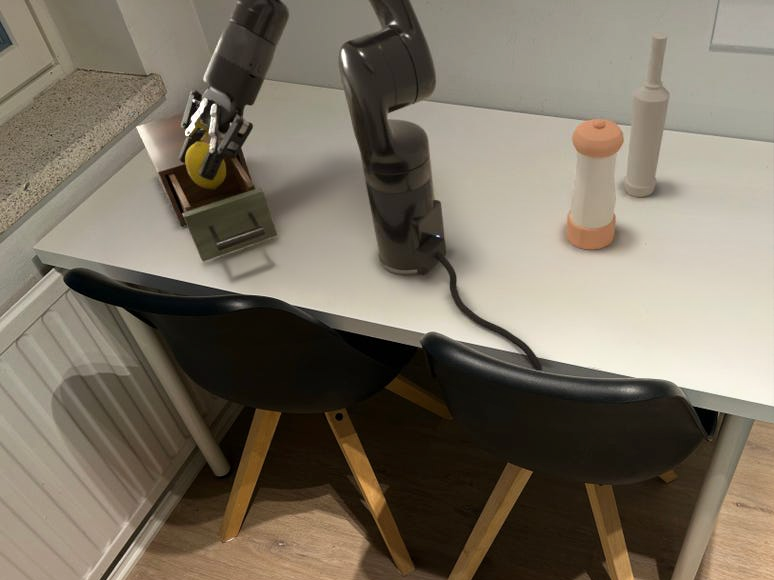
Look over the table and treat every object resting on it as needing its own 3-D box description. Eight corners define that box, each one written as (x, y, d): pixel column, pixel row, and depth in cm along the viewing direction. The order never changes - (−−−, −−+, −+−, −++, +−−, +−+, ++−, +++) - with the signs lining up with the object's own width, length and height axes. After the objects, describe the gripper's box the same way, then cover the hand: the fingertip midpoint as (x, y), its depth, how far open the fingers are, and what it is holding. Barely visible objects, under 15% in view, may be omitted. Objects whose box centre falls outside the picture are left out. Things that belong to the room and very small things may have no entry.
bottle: (652, 200, 116) (675, 45, 98) (620, 195, 117) (637, 41, 99) (657, 182, 119) (681, 29, 101) (626, 178, 121) (644, 26, 102)
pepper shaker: (600, 216, 114) (610, 102, 100) (622, 242, 109) (636, 126, 95) (558, 228, 112) (563, 114, 98) (579, 254, 107) (587, 139, 93)
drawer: (289, 255, 109) (275, 209, 103) (213, 283, 105) (193, 237, 99) (248, 188, 122) (233, 145, 116) (178, 211, 118) (159, 167, 112)
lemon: (223, 200, 109) (205, 153, 103) (190, 197, 110) (170, 151, 104) (238, 179, 112) (222, 133, 106) (206, 177, 113) (188, 131, 107)
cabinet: (258, 200, 121) (240, 146, 114) (181, 226, 117) (157, 172, 110) (230, 156, 131) (213, 104, 124) (158, 178, 127) (136, 126, 120)
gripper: (193, 37, 104) (149, 144, 108) (246, 66, 97) (197, 180, 100) (235, 60, 110) (192, 161, 114) (288, 89, 103) (241, 196, 107)
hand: (195, 169), depth 107 cm, fingers closed on lemon, 5 cm apart
